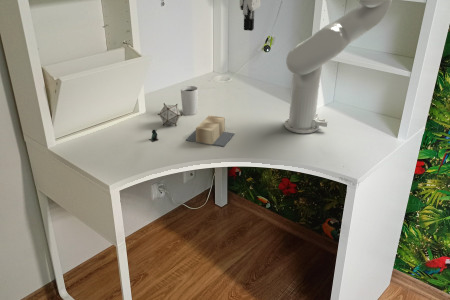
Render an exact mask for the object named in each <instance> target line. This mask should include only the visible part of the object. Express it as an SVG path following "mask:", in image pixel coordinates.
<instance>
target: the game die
mask: <svg viewBox="0 0 450 300" xmlns="http://www.w3.org/2000/svg"><path fill="white" fill-rule="evenodd" d="M157 116H159V117H160V118H161V119H160V120H161V121H162V122H163V124H162V126H165V124H166V125H174V126H175V127H177V126H178V125H177V123H178V121H179V119H180V118H181V116H183V113H180V110H179V108H178V103H176V104H175V105H174V104H165V102H163V107H162V109H161V111H160V112H159V113H157Z"/></svg>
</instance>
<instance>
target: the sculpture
mask: <svg viewBox="0 0 450 300" xmlns="http://www.w3.org/2000/svg"><path fill="white" fill-rule="evenodd" d="M157 131H158V129H152V130H151V137H150V138H149V139H148V141H149V142H151V143H155V142H158V141H159V138H158V133H157Z"/></svg>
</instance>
